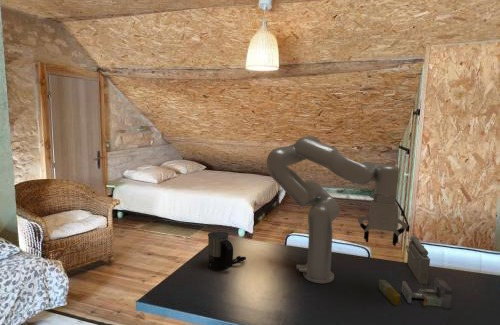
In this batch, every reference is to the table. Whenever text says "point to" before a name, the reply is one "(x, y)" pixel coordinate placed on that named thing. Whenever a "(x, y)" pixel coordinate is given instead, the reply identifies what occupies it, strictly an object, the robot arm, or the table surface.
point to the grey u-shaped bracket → (439, 294)
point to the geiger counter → (418, 260)
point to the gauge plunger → (409, 294)
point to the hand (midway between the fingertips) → (380, 242)
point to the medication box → (389, 292)
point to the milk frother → (221, 251)
